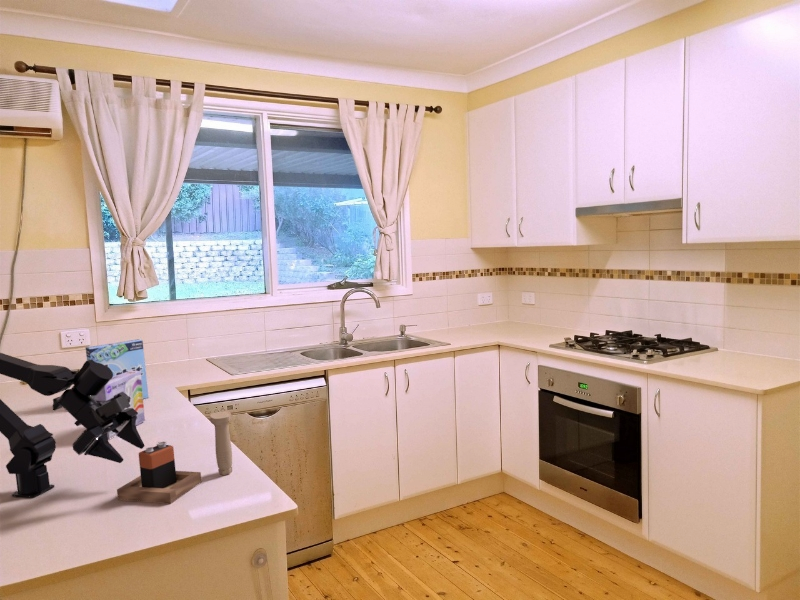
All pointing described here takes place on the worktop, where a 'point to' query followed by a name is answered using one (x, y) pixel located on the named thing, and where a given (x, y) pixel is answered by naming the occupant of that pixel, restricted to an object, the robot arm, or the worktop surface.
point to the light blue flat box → (121, 359)
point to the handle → (222, 441)
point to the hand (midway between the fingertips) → (133, 454)
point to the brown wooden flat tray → (159, 489)
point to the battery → (157, 466)
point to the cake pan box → (131, 387)
